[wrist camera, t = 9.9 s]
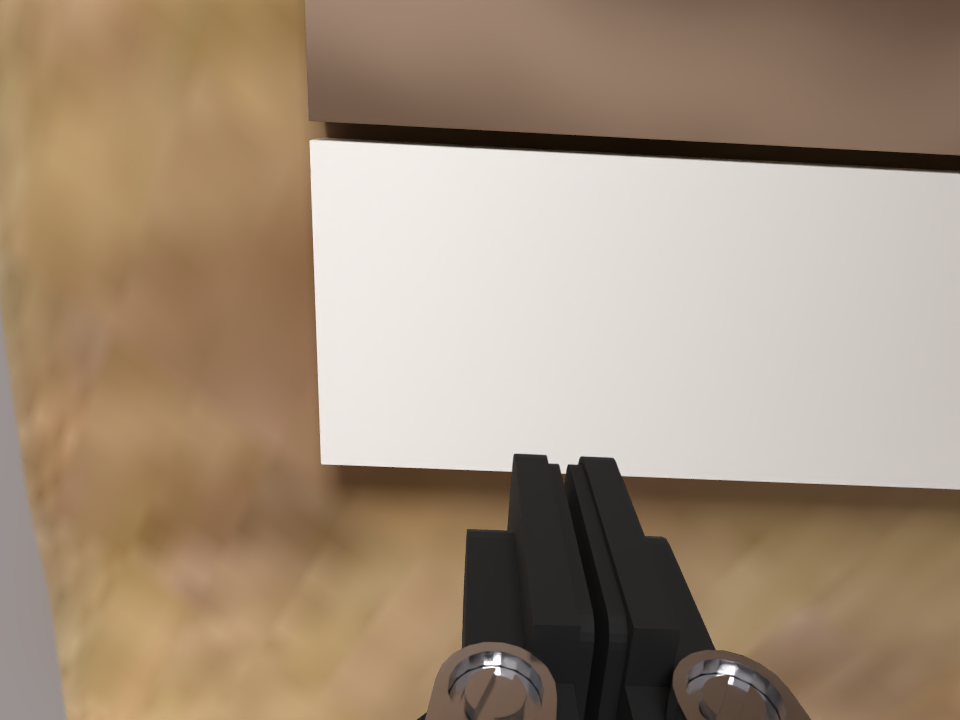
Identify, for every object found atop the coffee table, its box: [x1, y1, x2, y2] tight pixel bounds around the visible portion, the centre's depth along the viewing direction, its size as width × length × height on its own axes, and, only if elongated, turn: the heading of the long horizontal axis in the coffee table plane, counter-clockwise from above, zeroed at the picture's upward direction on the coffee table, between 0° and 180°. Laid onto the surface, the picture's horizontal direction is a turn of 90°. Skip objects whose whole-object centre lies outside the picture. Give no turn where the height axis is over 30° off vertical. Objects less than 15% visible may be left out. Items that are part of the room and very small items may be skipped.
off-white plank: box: [310, 138, 960, 489], centre depth 21 cm, size 10×24×2 cm, turn 87°
